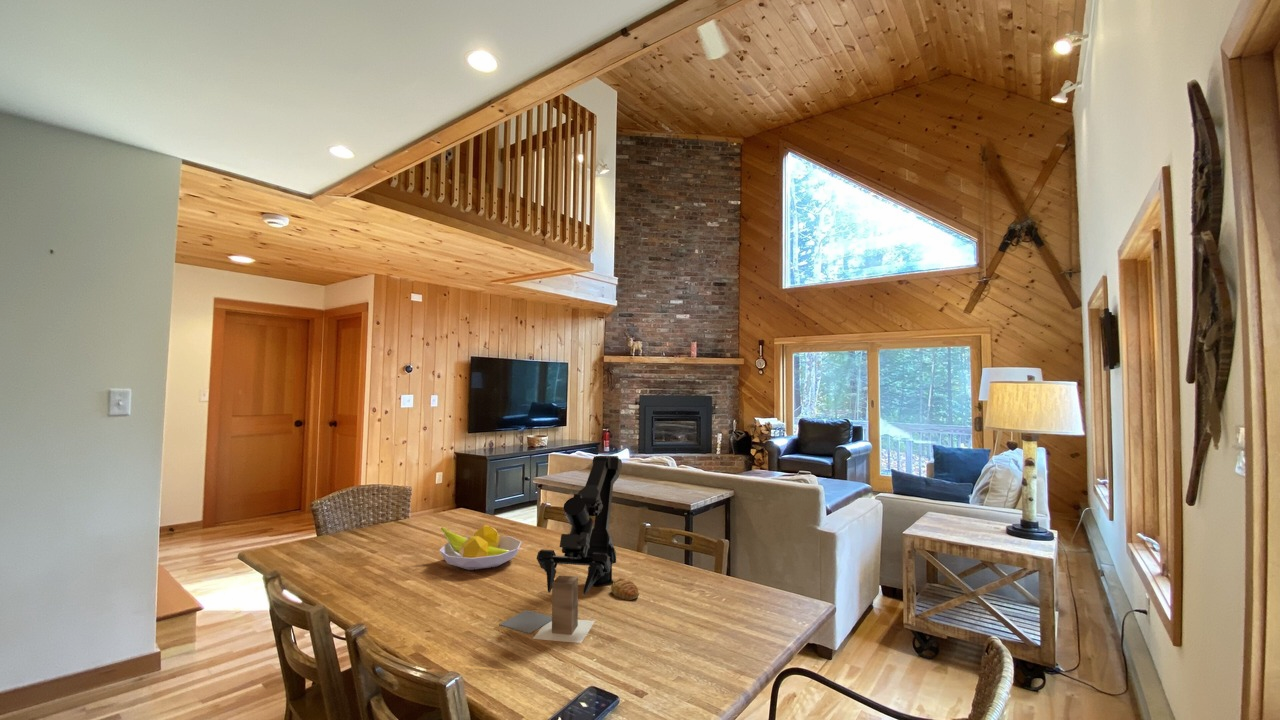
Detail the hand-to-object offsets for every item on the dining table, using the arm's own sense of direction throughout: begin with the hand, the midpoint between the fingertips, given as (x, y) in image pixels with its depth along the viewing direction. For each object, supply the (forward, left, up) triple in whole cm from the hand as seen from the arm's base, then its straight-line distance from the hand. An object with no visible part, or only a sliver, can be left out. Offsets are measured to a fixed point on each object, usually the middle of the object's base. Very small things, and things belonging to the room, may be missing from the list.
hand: (566, 593), depth 135 cm
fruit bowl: (+13, -61, -9) cm, 63 cm away
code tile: (0, +1, -9) cm, 9 cm away
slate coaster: (+8, -7, -9) cm, 14 cm away
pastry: (-22, -15, -9) cm, 28 cm away
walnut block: (0, +1, -8) cm, 8 cm away
